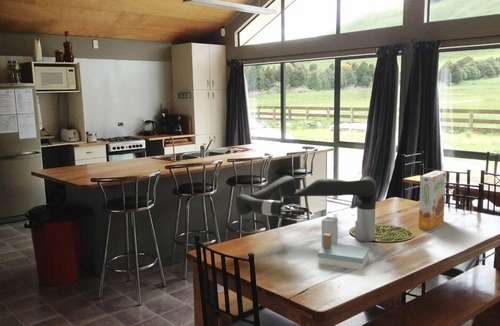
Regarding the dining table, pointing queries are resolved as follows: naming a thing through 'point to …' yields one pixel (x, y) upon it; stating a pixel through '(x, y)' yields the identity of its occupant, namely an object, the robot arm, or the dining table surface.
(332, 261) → the box
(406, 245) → the dining table surface
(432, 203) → the cereal box
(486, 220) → the dining table surface
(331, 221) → the skincare box
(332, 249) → the lid
